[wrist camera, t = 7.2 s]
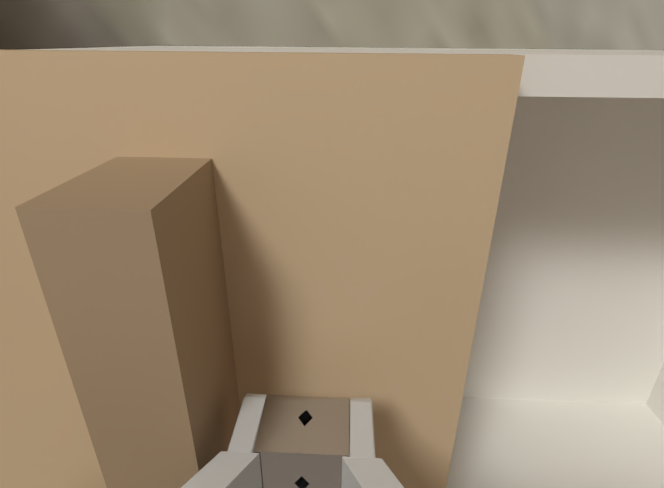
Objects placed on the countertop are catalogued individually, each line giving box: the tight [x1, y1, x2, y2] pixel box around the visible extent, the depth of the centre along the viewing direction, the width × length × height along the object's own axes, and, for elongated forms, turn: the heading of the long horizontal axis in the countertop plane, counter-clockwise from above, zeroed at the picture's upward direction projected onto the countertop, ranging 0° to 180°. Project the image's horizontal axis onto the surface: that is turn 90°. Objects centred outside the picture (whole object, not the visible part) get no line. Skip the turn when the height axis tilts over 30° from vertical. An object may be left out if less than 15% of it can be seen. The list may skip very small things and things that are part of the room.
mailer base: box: [26, 46, 664, 488], centre depth 15 cm, size 22×16×7 cm
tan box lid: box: [0, 50, 525, 488], centre depth 11 cm, size 22×16×4 cm
